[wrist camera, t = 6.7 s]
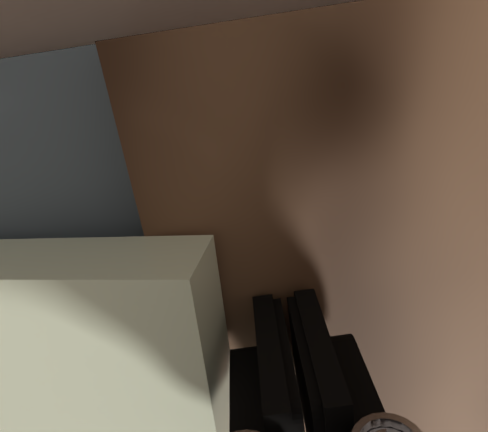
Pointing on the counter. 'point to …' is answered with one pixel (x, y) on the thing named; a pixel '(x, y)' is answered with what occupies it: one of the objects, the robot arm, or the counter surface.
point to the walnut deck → (330, 178)
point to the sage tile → (112, 335)
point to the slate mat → (61, 150)
